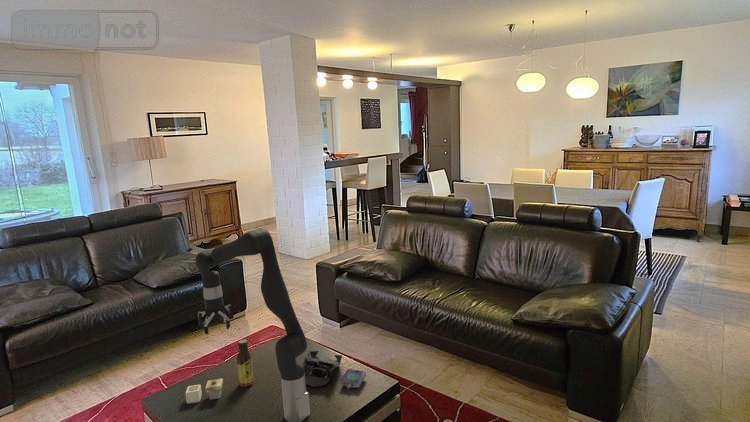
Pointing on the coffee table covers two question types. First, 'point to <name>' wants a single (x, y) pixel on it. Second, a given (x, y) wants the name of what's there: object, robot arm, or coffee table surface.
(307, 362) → the dark piece
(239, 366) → the sauce bottle
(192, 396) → the white cube box
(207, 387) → the lid
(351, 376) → the grey electronic device
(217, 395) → the gray cube
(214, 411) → the coffee table surface
